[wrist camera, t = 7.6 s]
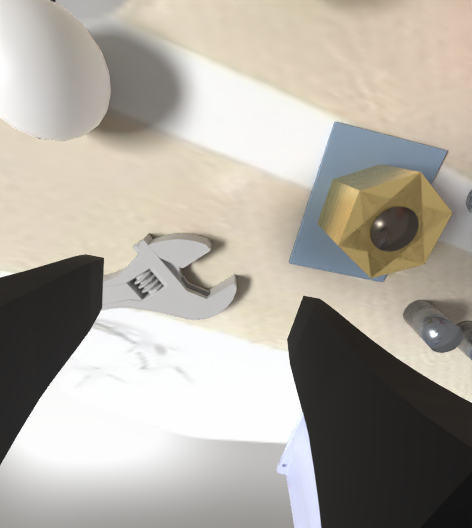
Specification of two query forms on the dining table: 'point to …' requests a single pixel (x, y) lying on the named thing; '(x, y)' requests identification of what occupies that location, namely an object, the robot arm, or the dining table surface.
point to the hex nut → (384, 218)
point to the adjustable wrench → (166, 280)
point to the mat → (343, 163)
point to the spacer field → (440, 324)
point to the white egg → (50, 71)
